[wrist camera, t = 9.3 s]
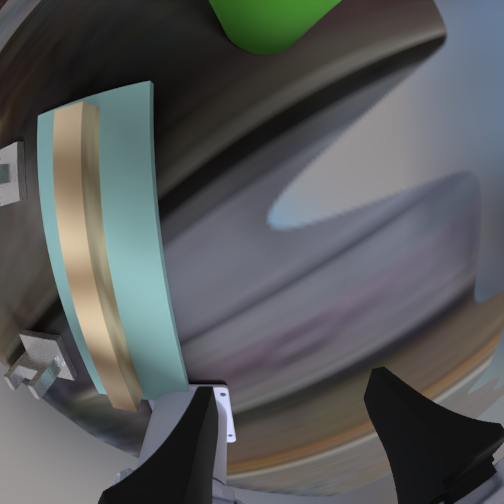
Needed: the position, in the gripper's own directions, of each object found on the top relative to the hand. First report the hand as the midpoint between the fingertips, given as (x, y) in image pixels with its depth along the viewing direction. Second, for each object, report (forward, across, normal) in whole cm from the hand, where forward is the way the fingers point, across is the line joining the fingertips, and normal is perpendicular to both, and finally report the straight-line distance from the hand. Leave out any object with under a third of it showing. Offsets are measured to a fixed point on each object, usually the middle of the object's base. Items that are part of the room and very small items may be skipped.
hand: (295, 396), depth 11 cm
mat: (+9, +12, -3) cm, 16 cm away
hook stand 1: (+9, +23, -12) cm, 28 cm away
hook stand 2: (+9, +23, +6) cm, 26 cm away
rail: (+9, +13, -3) cm, 16 cm away
